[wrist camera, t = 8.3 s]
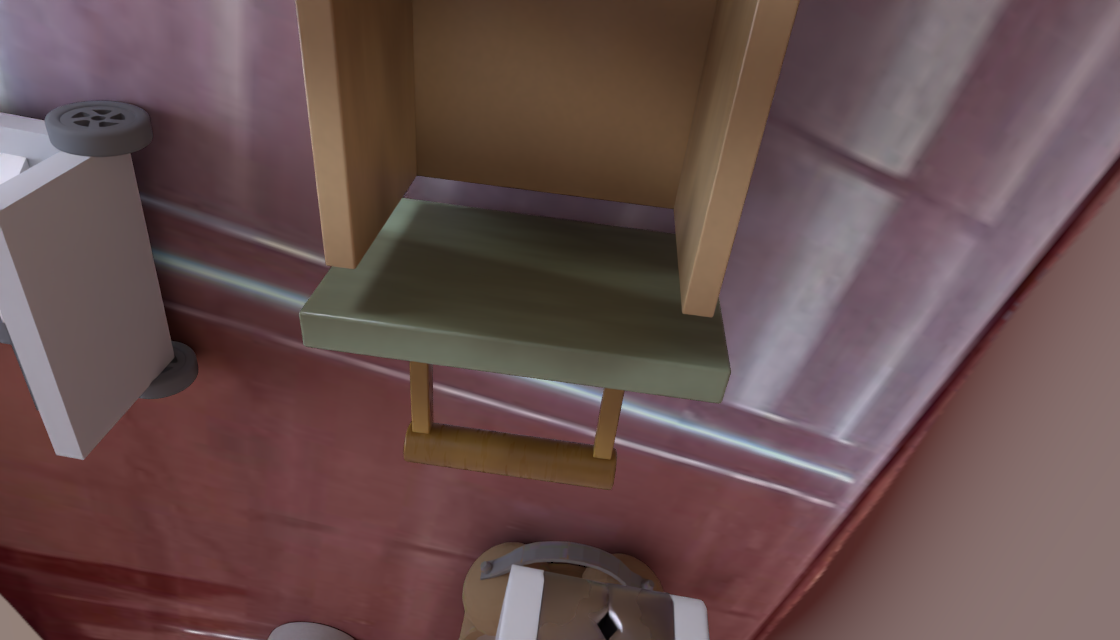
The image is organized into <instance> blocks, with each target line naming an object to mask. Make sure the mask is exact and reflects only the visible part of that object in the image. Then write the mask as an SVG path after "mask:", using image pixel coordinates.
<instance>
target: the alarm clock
mask: <svg viewBox="0 0 1120 640" xmlns="http://www.w3.org/2000/svg"><path fill="white" fill-rule="evenodd" d="M547 562H567V563H572V564H578V565H583V566H587V568H586V567H581V566H576V565H571V564H557V563H547ZM512 565H518V566H523V567H529V568H534V569H540V570H544V571H547V572H552V573H557V574H563V575H568V576H573V577H578V578H583V579H588V580H593V581H598V582H603V583H612V584H618V585H624V586H630V587H636V588H642V589H647V590H653V591H659V592H664V591H663V588H662V586H661V583H660V581H659V580H658V578H657V577H656V575H655V574H654V572H653V571H652V570H651V569H650V568H649V567H648V566H647V565H646V564H645V563H643V562H641V561H640V560H638V559H636V558H635V557H633V556H630V555H626V554H621V553H616V554H610V553H608V552H606V551H604V550H601V549H599V548H595V547H592V546H588V545H585V544H579V543H574V542H565V541H544V542H535V543H530V544H526V545H525V544H523V543H519V542H506V543H502V544H500V545H497V546H494V547H492V548H490V549H489V550H487V551H486V552H484V553H483V554H482V555H481V556H480V557H479V558H478V559H477V560H476V561H475V562H474V563H473V565H472V566H471V568H470V570H469V571H468V573H467V576H466V579H465V582H464V585H463V594H462V600H463V605H464V609H465V610H464V613H465V615H464V619H463V624H462V629H461V633H460V638H459V639H458V640H495V638H496V633H497V628H498V624H499V619H500V614H501V610H502V605H503V600H504V596H505V592H506V587H507V583H508V579H509V574H510V570H511V566H512Z"/></svg>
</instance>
